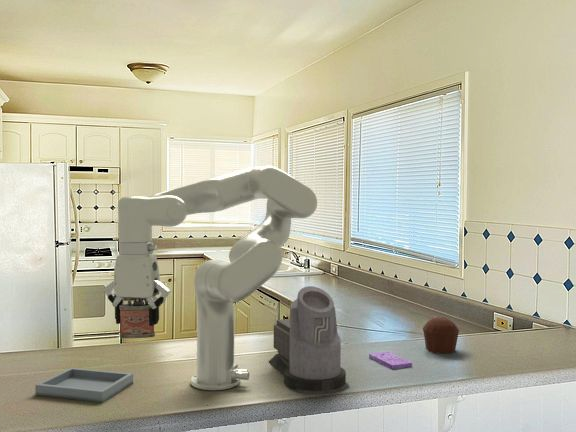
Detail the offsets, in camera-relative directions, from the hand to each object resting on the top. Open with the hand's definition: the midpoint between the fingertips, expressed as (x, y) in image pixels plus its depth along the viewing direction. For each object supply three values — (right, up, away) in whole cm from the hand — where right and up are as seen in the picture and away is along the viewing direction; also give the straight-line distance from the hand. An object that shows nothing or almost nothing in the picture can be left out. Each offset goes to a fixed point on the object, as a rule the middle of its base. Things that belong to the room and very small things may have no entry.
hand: (137, 323), depth 133 cm
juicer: (+40, -18, +19) cm, 48 cm away
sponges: (+65, -18, +33) cm, 75 cm away
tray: (-14, -18, +7) cm, 24 cm away
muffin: (+84, -18, +47) cm, 97 cm away
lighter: (0, -3, 0) cm, 3 cm away
